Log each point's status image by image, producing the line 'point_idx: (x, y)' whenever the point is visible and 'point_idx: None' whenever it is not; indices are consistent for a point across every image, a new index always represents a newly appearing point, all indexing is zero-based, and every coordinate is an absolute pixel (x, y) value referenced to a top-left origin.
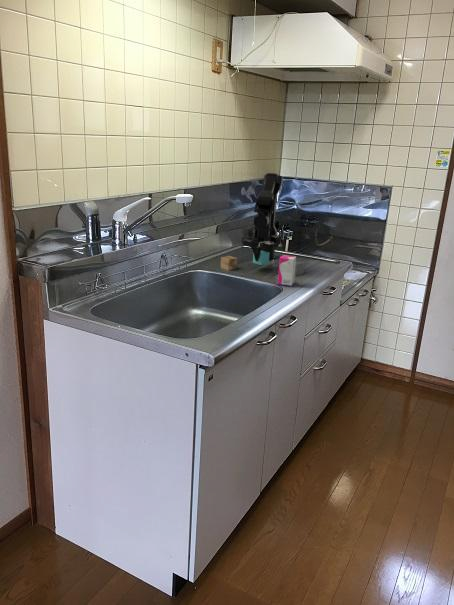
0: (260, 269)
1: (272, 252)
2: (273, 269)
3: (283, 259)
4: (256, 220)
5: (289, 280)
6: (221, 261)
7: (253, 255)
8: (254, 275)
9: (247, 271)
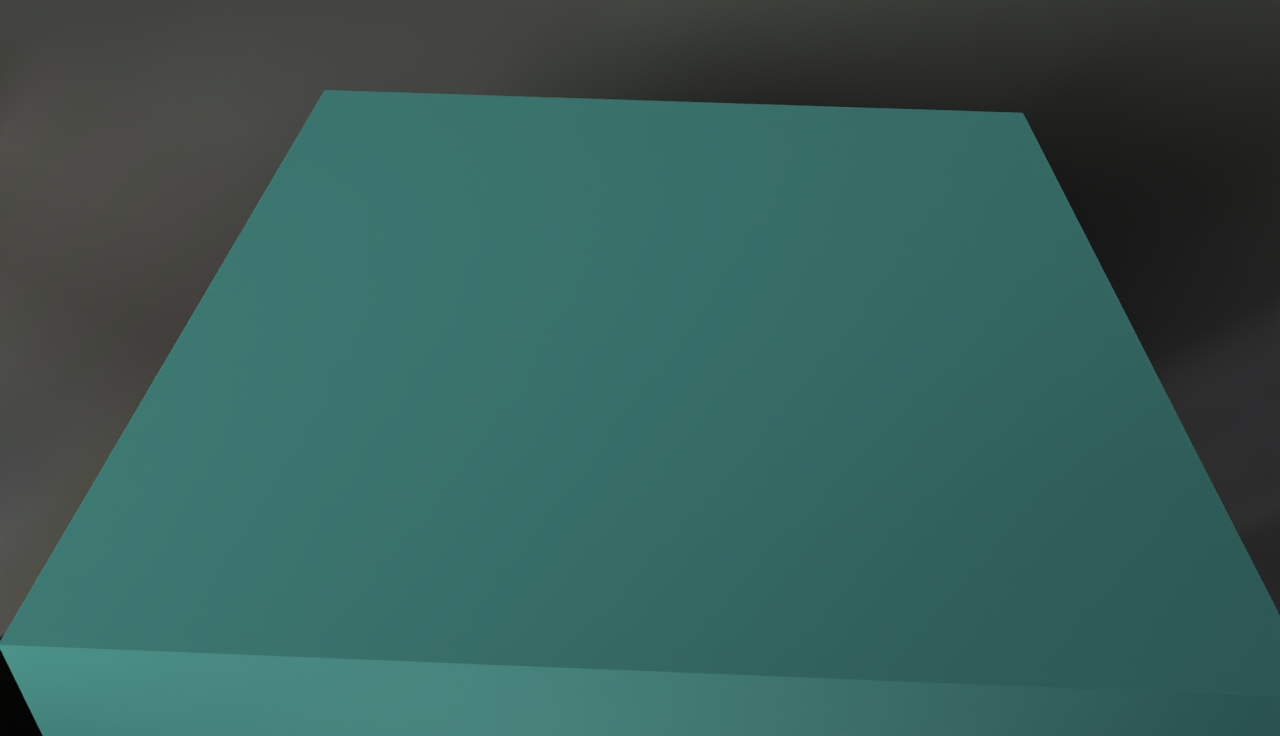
0: (795, 100)
1: None
2: (1205, 367)
3: None
4: None
5: None
6: None
7: (165, 391)
8: (27, 470)
9: (41, 7)
